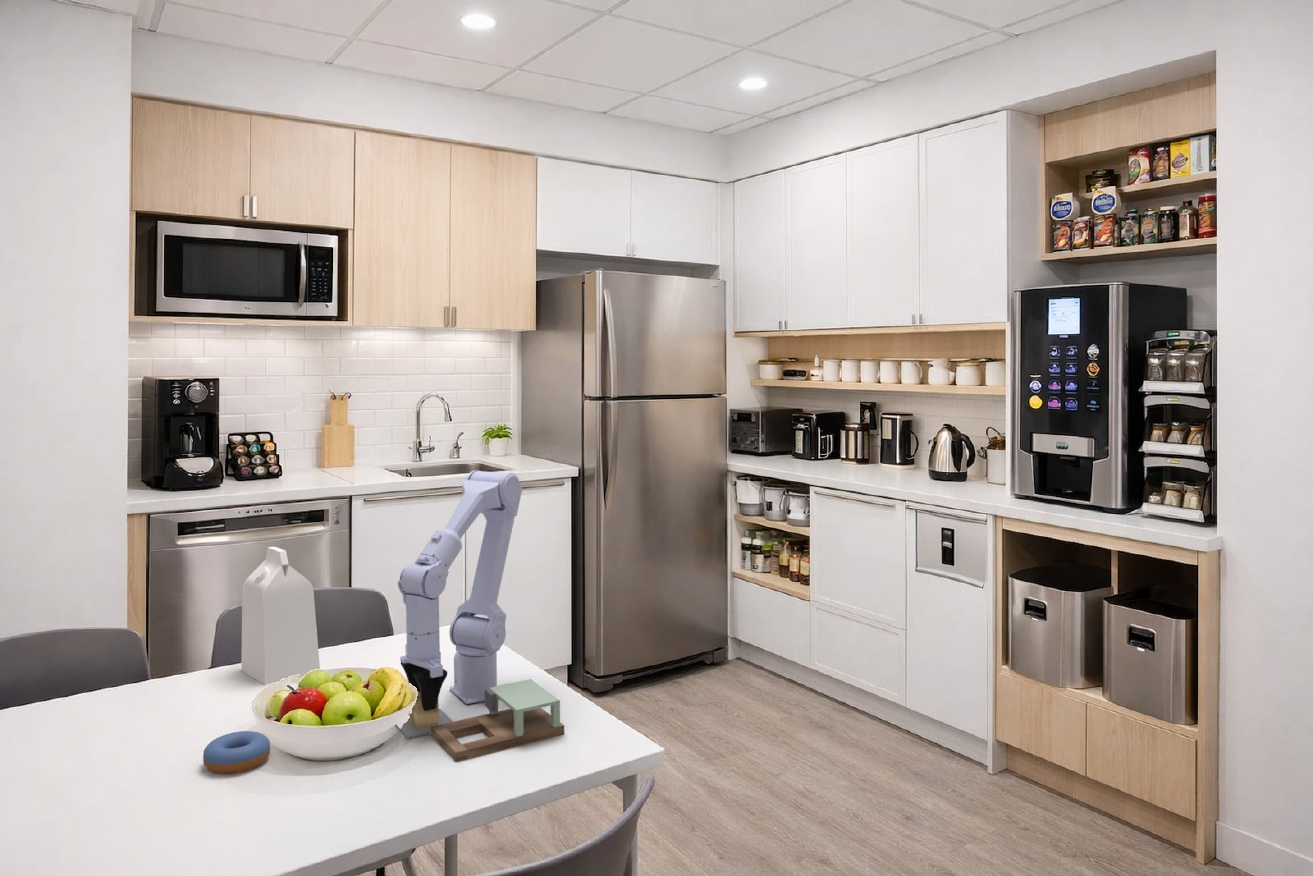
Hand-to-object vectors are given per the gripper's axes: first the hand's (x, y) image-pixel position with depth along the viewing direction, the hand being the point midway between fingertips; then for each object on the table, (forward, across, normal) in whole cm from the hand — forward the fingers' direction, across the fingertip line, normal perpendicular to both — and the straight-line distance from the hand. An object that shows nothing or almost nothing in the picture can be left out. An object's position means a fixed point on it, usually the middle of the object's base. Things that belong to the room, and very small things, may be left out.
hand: (424, 704), depth 158 cm
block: (+3, 0, 0) cm, 3 cm away
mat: (+4, 0, 0) cm, 4 cm away
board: (+4, +11, +10) cm, 15 cm away
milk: (+4, -43, -16) cm, 46 cm away
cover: (+2, +11, +14) cm, 18 cm away
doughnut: (+4, -2, -31) cm, 31 cm away
